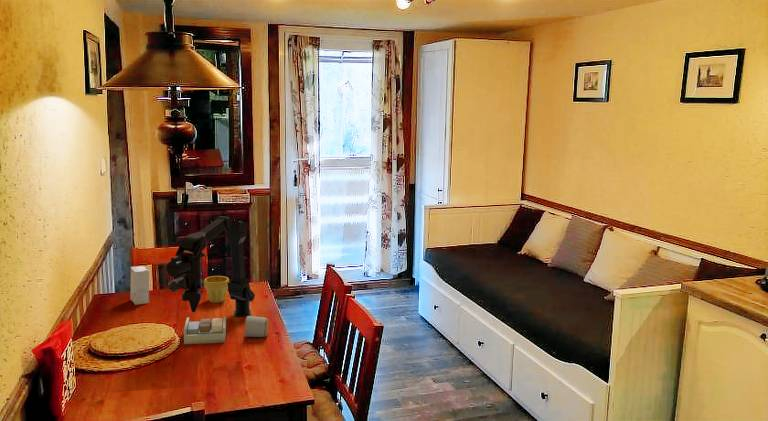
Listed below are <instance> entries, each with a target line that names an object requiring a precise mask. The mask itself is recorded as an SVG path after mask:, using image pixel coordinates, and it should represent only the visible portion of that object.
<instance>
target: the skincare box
mask: <svg viewBox="0 0 768 421" xmlns="http://www.w3.org/2000/svg"><path fill="white" fill-rule="evenodd" d="M129 297H130V298H129V299H130V301H132V303H133V304H134V305H135V306H137V305H144V304H149V303H150V271H149V270H148V268H147V267H145V266H144V265H141V266H139V265H138V266H130V296H129Z"/></svg>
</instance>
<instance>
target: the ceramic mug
mask: <svg viewBox="0 0 768 421" xmlns="http://www.w3.org/2000/svg"><path fill="white" fill-rule="evenodd" d="M269 324H270V322H269V319H268V318H267V317H262V316H261V317H260V316H253V315H250V316H246V319H245V323H244V337H247V338H249V337H250V338H265V337H267V336H268V333H269V328H270V326H269Z"/></svg>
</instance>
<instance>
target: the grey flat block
mask: <svg viewBox="0 0 768 421" xmlns="http://www.w3.org/2000/svg"><path fill="white" fill-rule="evenodd" d="M200 323H201V320H200V321H189V326H188V335H191V334H198V333H199V328H200Z"/></svg>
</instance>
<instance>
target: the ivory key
mask: <svg viewBox="0 0 768 421" xmlns="http://www.w3.org/2000/svg"><path fill="white" fill-rule="evenodd" d="M223 318H224V317H218V318H217V317H215V318H214V317H213V318H212V320H211V322H212V332H222V326H223Z"/></svg>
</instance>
